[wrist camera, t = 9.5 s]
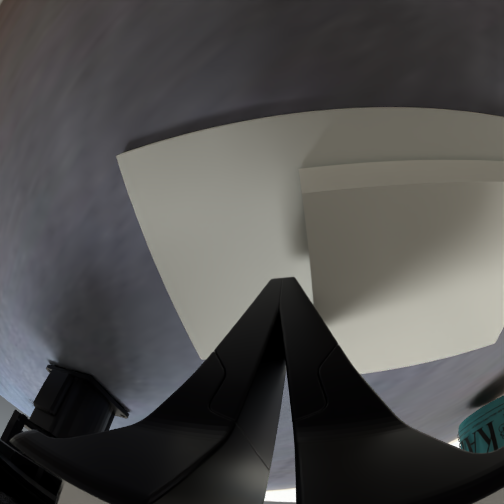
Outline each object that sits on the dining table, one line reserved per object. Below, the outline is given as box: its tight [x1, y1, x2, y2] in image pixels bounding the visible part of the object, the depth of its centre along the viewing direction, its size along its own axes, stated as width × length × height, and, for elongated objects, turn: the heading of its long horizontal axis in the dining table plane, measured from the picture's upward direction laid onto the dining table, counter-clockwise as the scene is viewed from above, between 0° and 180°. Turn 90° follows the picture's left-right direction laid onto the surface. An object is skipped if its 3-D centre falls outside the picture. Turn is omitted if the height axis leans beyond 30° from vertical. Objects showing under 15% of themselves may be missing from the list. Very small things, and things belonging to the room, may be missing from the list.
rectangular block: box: [299, 160, 504, 374], centre depth 8 cm, size 7×2×8 cm
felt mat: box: [116, 107, 504, 360], centre depth 9 cm, size 10×15×1 cm, turn 101°
